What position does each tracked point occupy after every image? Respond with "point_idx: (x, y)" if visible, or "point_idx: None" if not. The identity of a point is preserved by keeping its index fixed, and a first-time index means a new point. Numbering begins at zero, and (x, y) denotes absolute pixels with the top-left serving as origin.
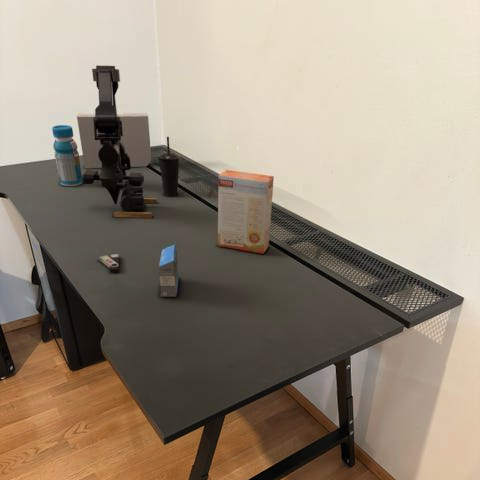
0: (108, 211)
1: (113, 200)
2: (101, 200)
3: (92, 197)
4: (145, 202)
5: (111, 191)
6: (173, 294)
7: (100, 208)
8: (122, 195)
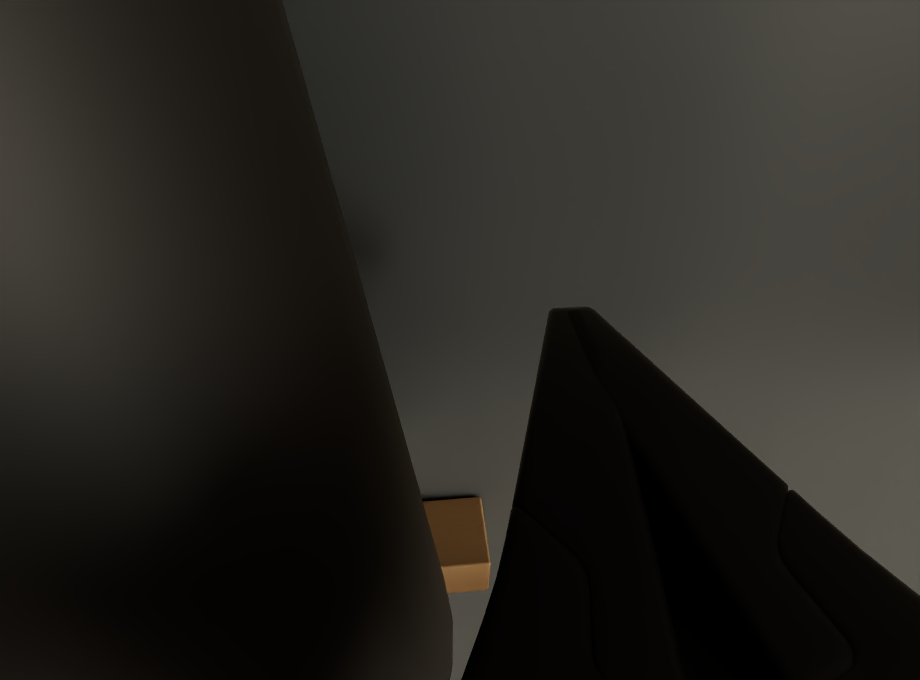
0: (728, 87)
1: (645, 368)
2: None
3: (905, 559)
4: None
5: (828, 646)
6: None
7: (885, 238)
8: (240, 481)
